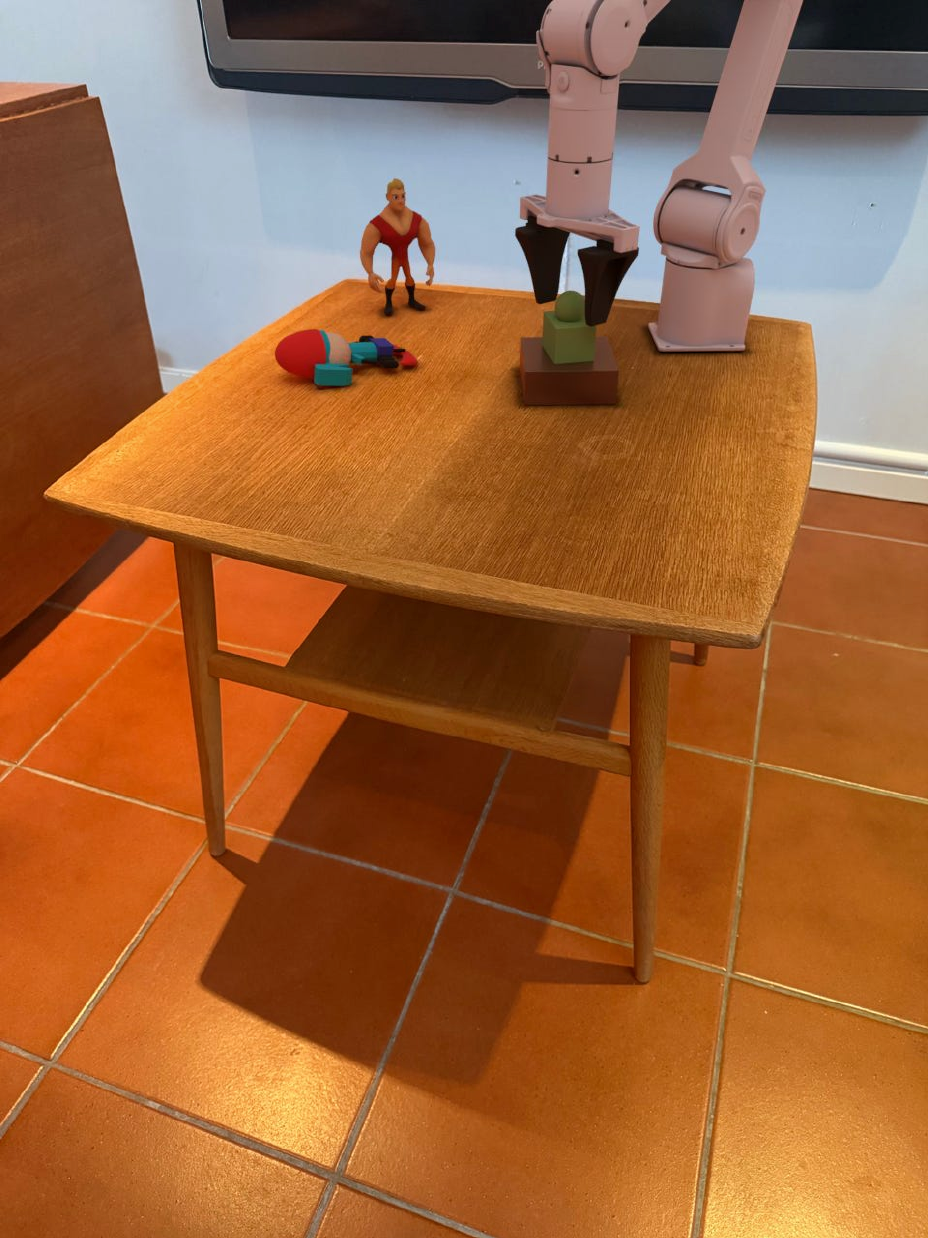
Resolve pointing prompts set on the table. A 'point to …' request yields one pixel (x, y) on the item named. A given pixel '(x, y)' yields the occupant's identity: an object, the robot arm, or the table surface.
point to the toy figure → (335, 355)
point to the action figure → (397, 244)
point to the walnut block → (567, 376)
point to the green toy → (568, 331)
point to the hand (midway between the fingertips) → (570, 312)
